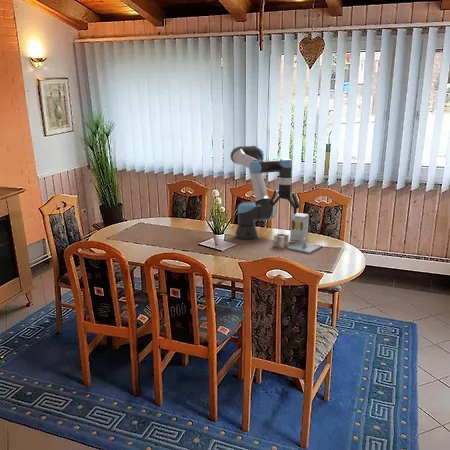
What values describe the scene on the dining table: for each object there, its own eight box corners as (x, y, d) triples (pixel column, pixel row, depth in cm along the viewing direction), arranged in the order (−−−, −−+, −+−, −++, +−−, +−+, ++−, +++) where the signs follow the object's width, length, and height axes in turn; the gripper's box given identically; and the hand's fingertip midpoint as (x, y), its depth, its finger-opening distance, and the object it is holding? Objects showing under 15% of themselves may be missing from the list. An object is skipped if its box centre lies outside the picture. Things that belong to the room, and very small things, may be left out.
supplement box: (289, 239, 307) (290, 215, 303) (294, 236, 315) (295, 212, 310) (303, 241, 303) (304, 216, 298) (308, 238, 311) (309, 213, 306)
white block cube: (273, 245, 294) (273, 234, 292) (279, 243, 299) (279, 232, 297) (282, 248, 290) (283, 236, 288) (288, 245, 295) (288, 234, 293)
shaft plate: (286, 249, 288) (286, 239, 286) (299, 242, 301) (300, 233, 299) (309, 254, 278) (310, 244, 277) (322, 247, 291) (322, 237, 290)
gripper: (264, 182, 288) (263, 215, 294) (300, 187, 275) (299, 221, 280) (270, 180, 294) (269, 212, 300) (306, 185, 280) (304, 218, 286)
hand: (283, 217), depth 290 cm, fingers open, 13 cm apart
